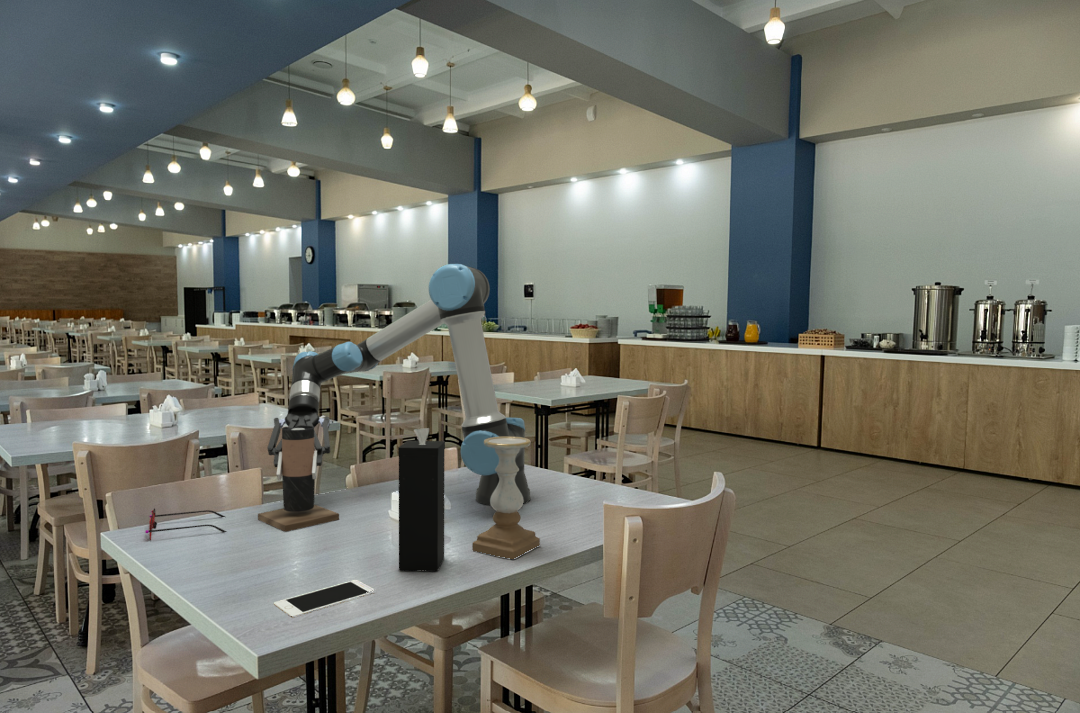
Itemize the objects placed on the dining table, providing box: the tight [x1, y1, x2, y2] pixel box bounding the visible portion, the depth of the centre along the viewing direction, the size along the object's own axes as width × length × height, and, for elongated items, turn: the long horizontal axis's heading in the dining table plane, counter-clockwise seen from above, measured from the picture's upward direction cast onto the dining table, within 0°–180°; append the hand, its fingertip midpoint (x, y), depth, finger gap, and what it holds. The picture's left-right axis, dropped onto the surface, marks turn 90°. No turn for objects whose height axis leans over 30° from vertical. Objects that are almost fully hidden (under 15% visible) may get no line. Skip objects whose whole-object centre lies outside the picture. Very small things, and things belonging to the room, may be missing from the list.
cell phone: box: [273, 579, 375, 618], centre depth 123 cm, size 8×16×1 cm, turn 134°
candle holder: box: [471, 436, 541, 559], centre depth 149 cm, size 11×11×24 cm
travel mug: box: [281, 425, 316, 512], centre depth 169 cm, size 8×8×20 cm
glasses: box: [144, 508, 228, 541], centre depth 162 cm, size 14×16×5 cm
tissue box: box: [397, 427, 446, 572], centre depth 139 cm, size 8×8×28 cm
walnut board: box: [257, 503, 340, 533], centre depth 170 cm, size 14×14×2 cm
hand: (296, 476), depth 166 cm, fingers closed on travel mug, 7 cm apart
